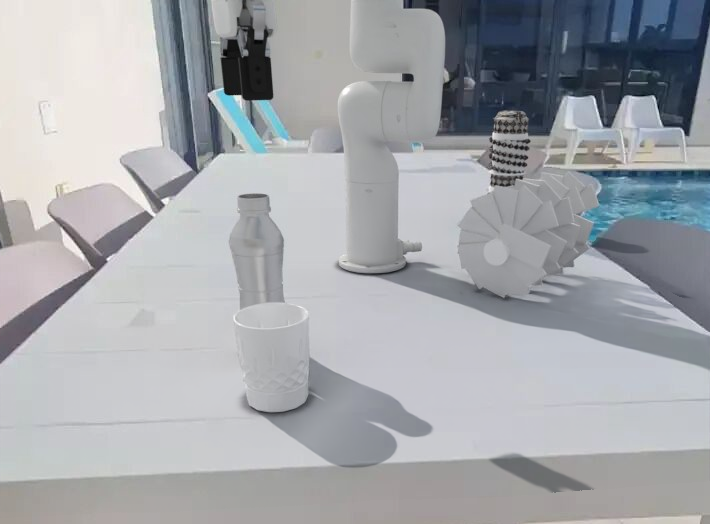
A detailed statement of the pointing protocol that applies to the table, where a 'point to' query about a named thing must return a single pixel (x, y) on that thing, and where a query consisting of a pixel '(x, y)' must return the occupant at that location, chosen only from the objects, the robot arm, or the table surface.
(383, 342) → the table surface
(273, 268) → the plastic bottle
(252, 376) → the white cup
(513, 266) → the spiral staircase
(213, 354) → the table surface
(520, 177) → the decorative candle
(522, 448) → the table surface
